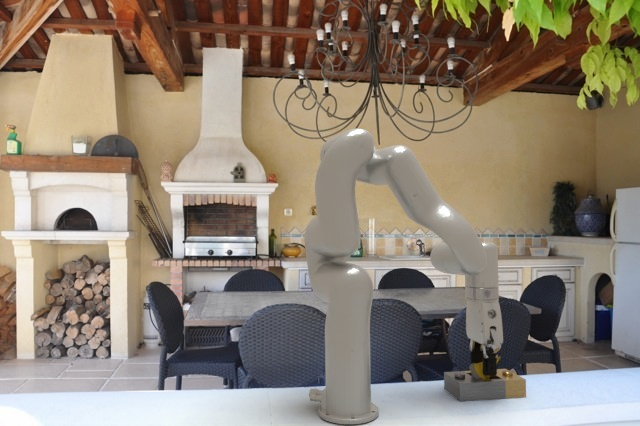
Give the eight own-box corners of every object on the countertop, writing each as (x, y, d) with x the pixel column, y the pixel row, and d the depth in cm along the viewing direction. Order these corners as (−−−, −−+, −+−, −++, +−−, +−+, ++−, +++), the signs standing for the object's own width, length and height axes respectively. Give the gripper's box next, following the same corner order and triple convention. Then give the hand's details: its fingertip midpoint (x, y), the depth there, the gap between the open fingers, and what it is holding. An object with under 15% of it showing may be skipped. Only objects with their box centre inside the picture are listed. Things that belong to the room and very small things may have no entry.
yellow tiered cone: (475, 380, 123) (505, 355, 119) (479, 395, 118) (511, 370, 115) (459, 368, 122) (489, 343, 119) (463, 383, 117) (494, 357, 114)
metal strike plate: (460, 401, 113) (459, 380, 113) (444, 388, 122) (443, 369, 122) (526, 397, 116) (525, 376, 116) (505, 385, 125) (505, 366, 125)
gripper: (515, 298, 112) (517, 381, 111) (480, 289, 129) (481, 361, 128) (484, 299, 111) (485, 383, 110) (452, 290, 127) (453, 362, 127)
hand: (483, 370), depth 119 cm, fingers closed on yellow tiered cone, 5 cm apart
